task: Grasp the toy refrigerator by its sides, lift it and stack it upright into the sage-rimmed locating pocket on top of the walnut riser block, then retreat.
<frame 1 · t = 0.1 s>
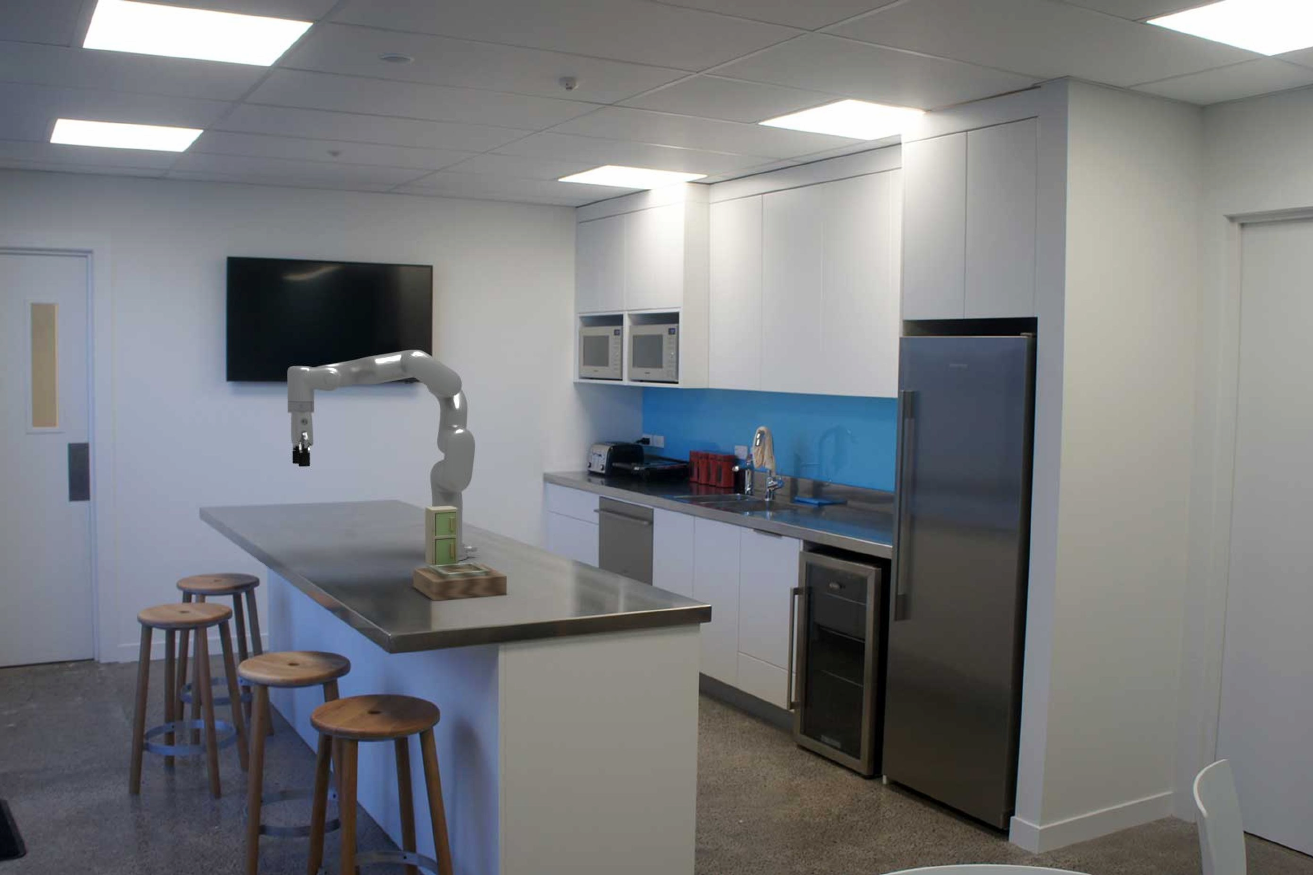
hand: (301, 465, 333), 31 cm above the countertop, fingers open, 9 cm apart
walnut riser: (459, 590, 306), on the countertop
toy refrigerator: (442, 581, 320), on the countertop
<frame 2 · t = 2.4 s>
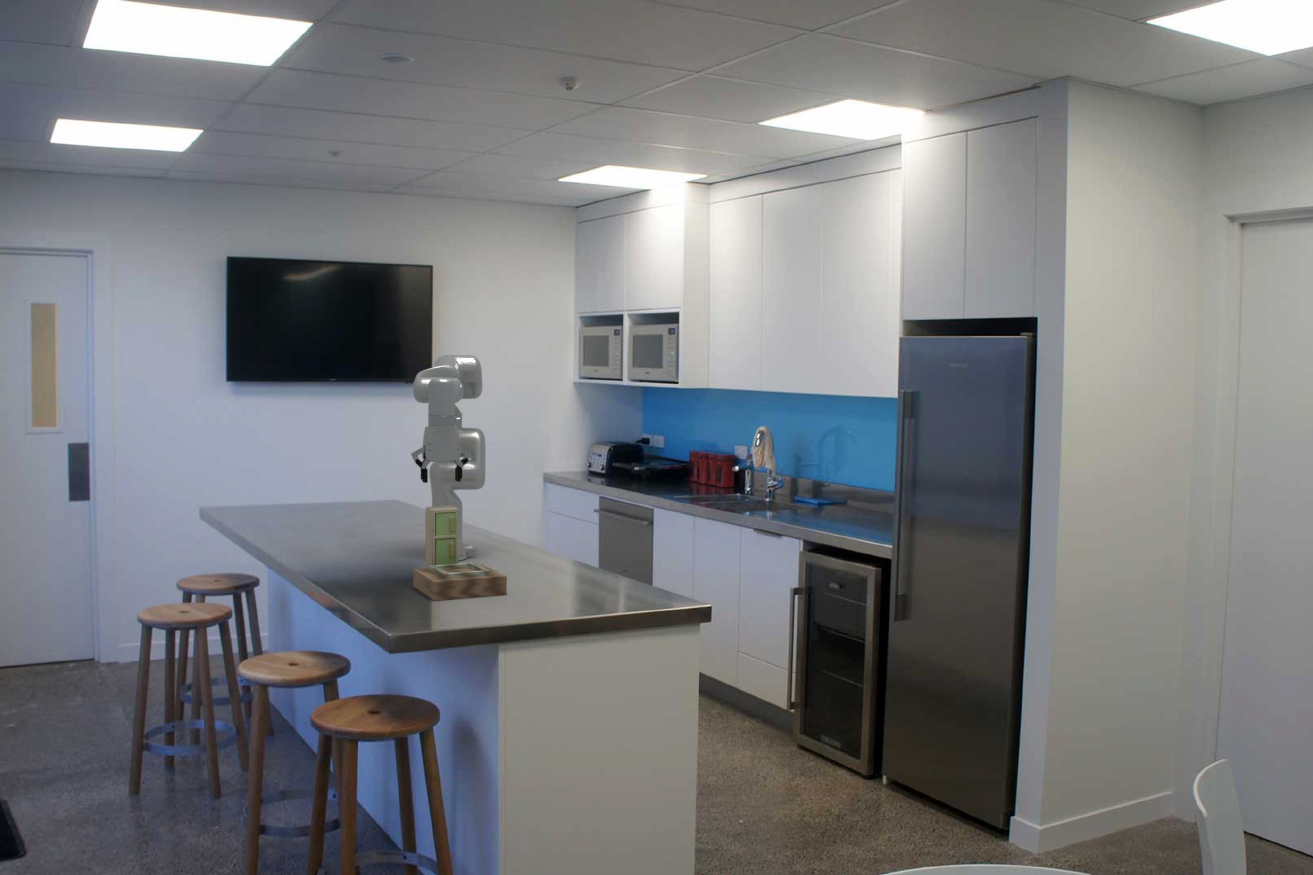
hand: (441, 481, 319), 28 cm above the countertop, fingers open, 9 cm apart
nothing on the countertop moved.
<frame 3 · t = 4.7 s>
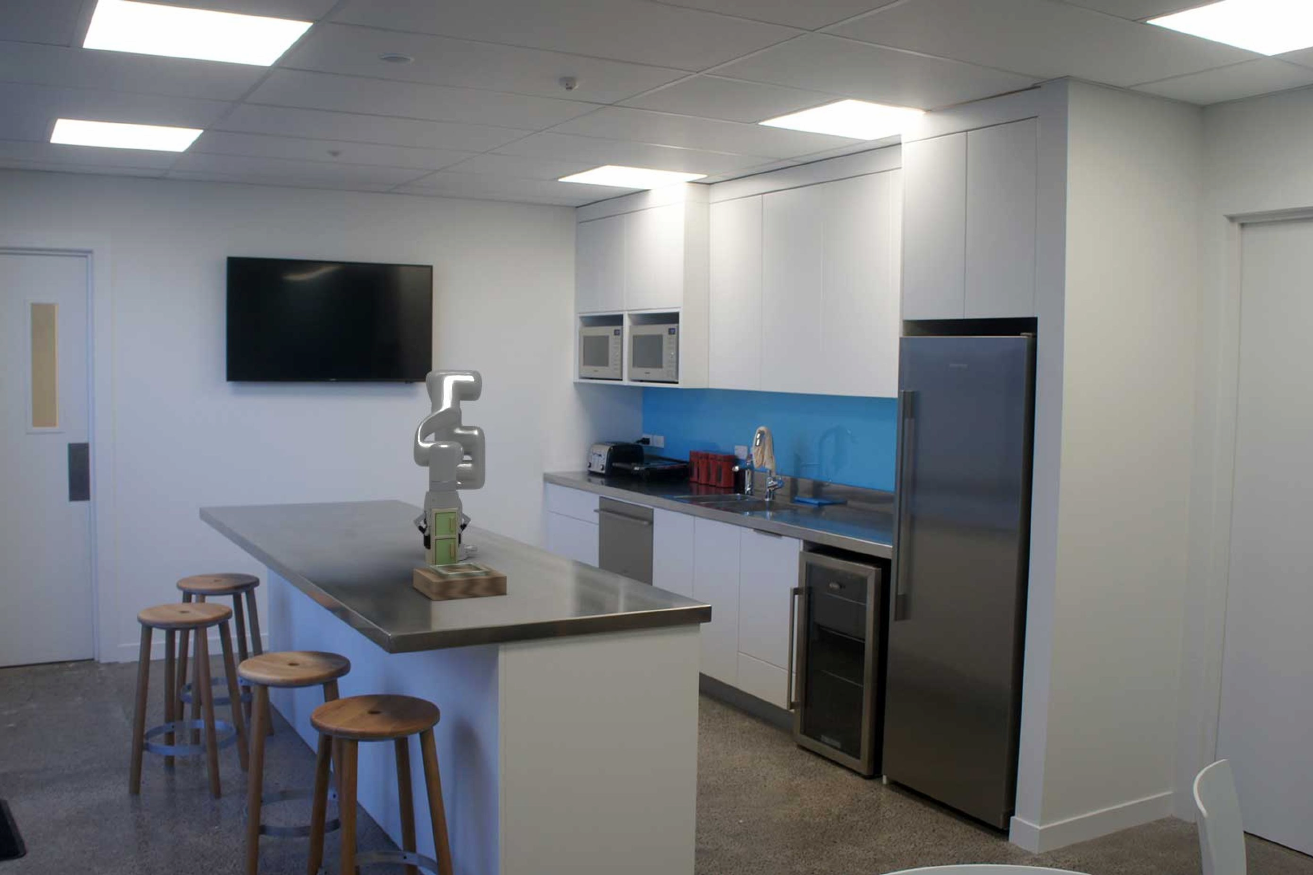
hand: (442, 547, 320), 10 cm above the countertop, fingers closed on toy refrigerator, 7 cm apart
toy refrigerator: (442, 580, 320), on the countertop, touching gripper
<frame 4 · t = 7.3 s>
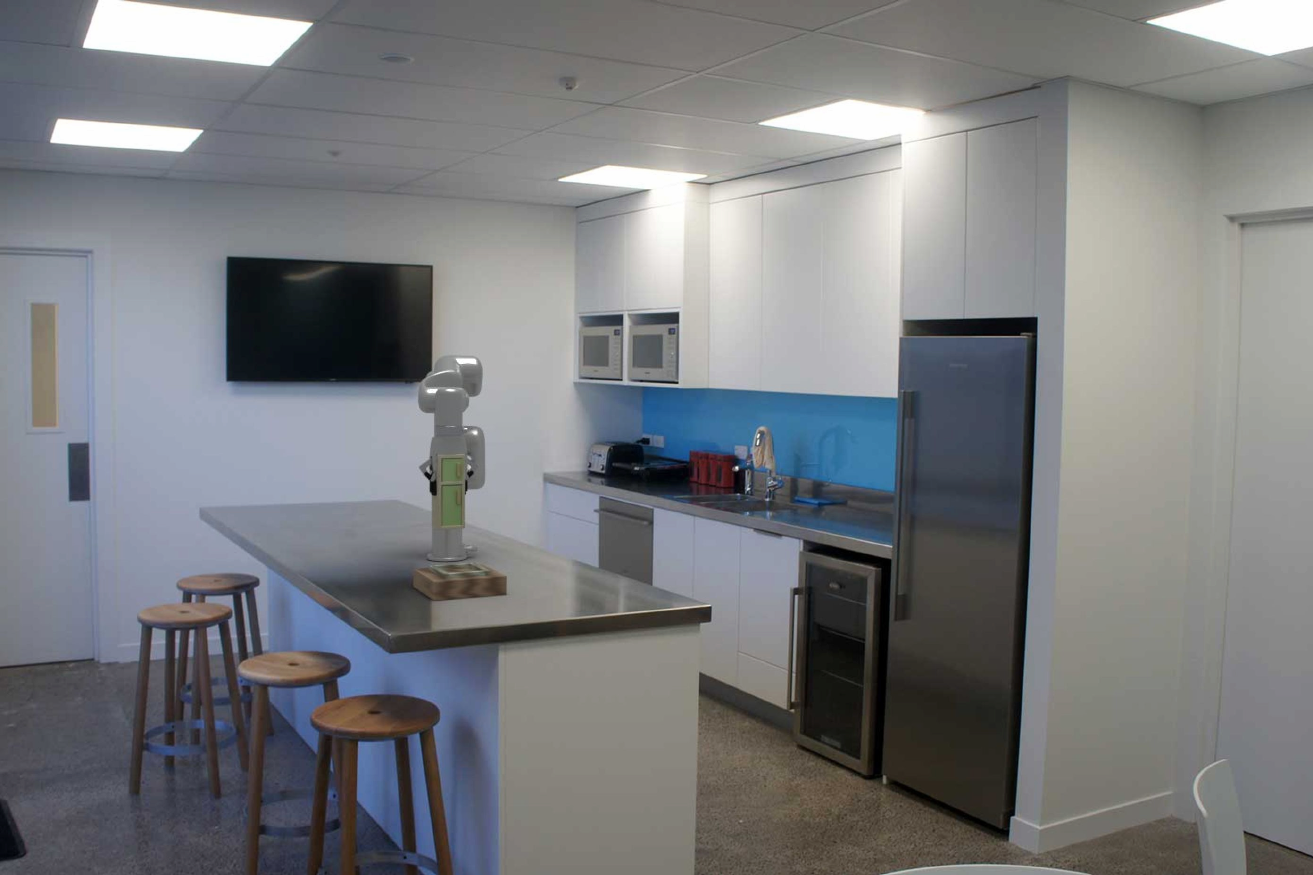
hand: (448, 494, 313), 25 cm above the countertop, fingers closed on toy refrigerator, 7 cm apart
toy refrigerator: (448, 528, 314), point 16 cm above the countertop, touching gripper
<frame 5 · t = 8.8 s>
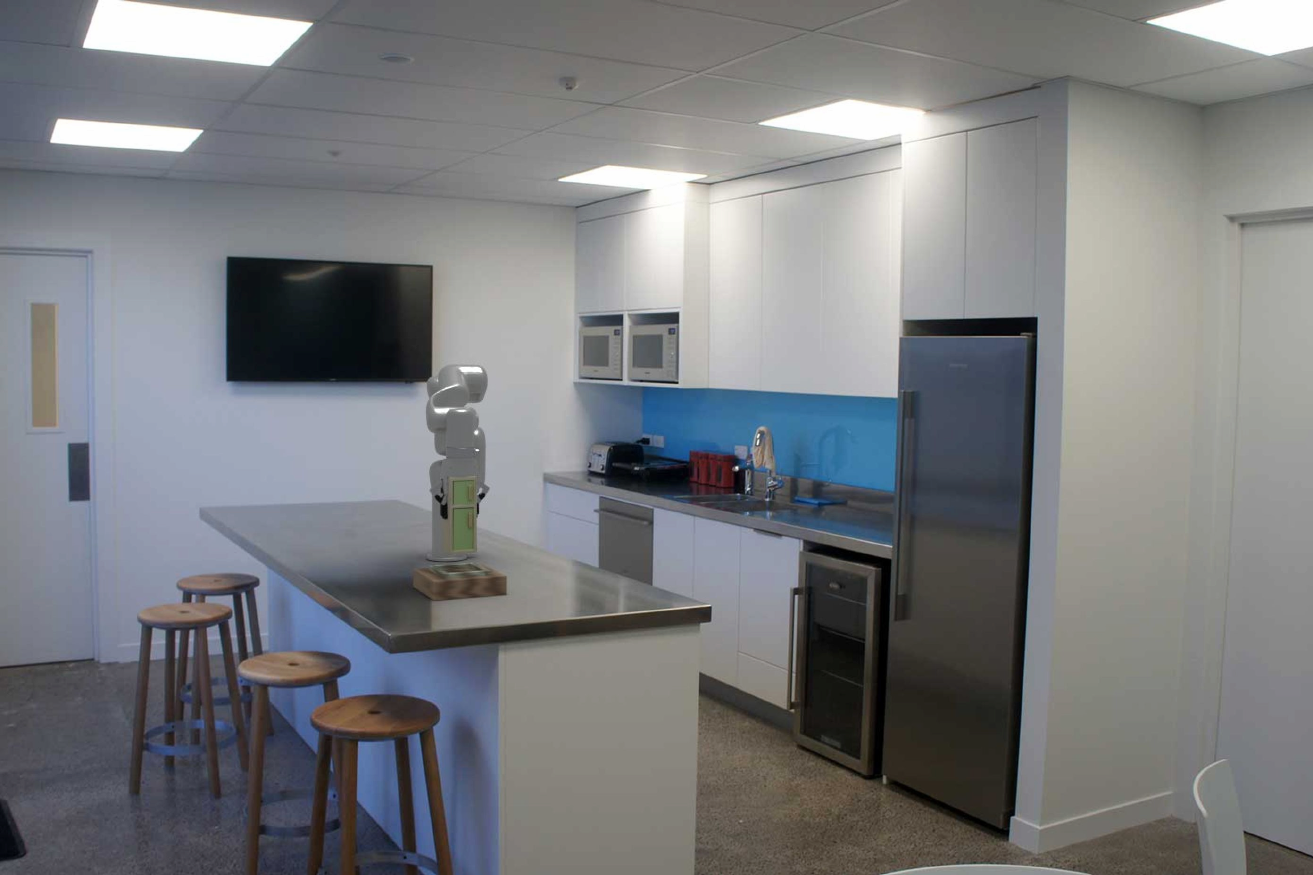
hand: (459, 517, 305), 20 cm above the countertop, fingers closed on toy refrigerator, 7 cm apart
toy refrigerator: (459, 552, 306), point 10 cm above the countertop, touching gripper
when the fingers open (17 cm above the countertop, at t = 10.0 s): toy refrigerator drops 2 cm, resting on walnut riser.
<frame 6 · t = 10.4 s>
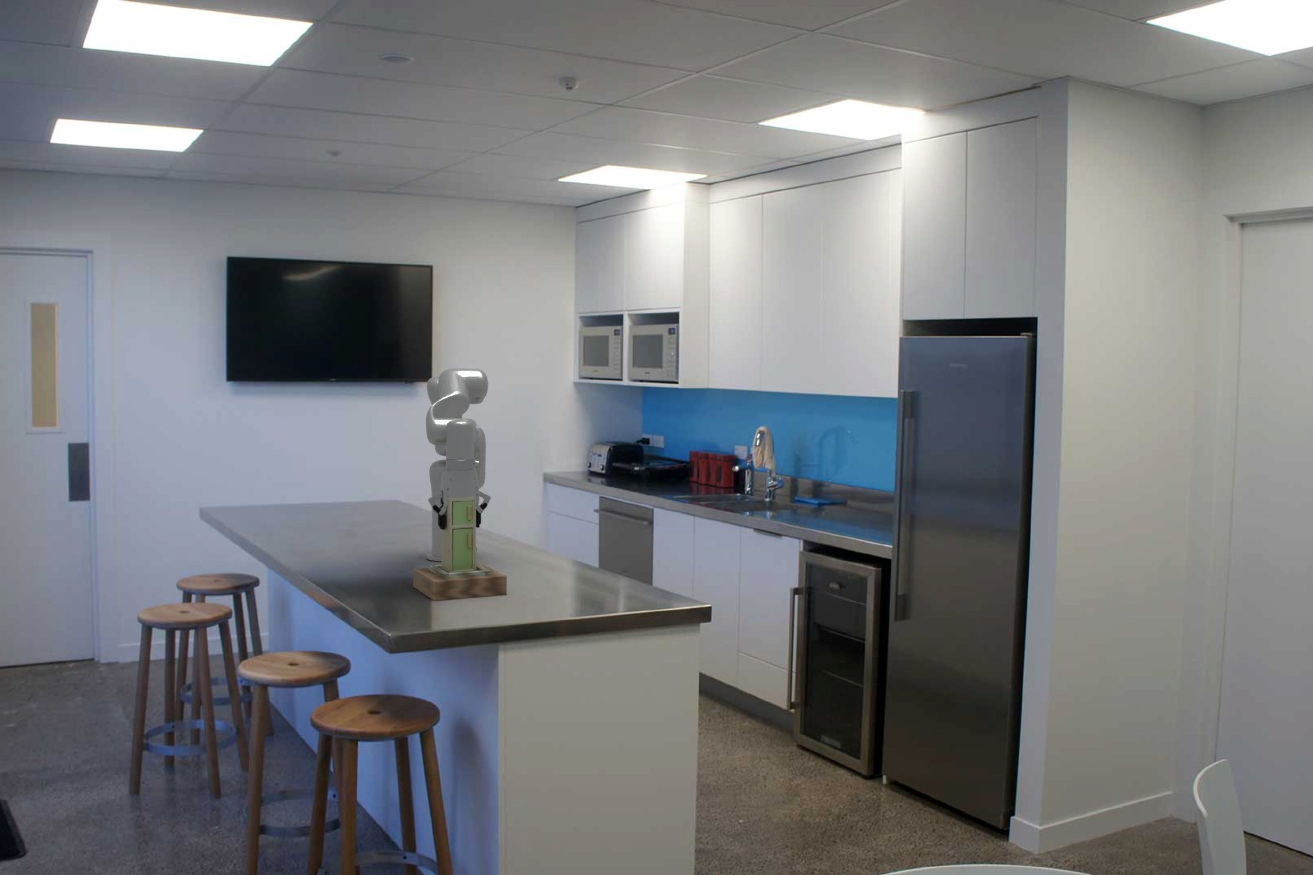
hand: (459, 528, 305), 17 cm above the countertop, fingers open, 9 cm apart
toy refrigerator: (458, 572, 306), point 5 cm above the countertop, touching walnut riser
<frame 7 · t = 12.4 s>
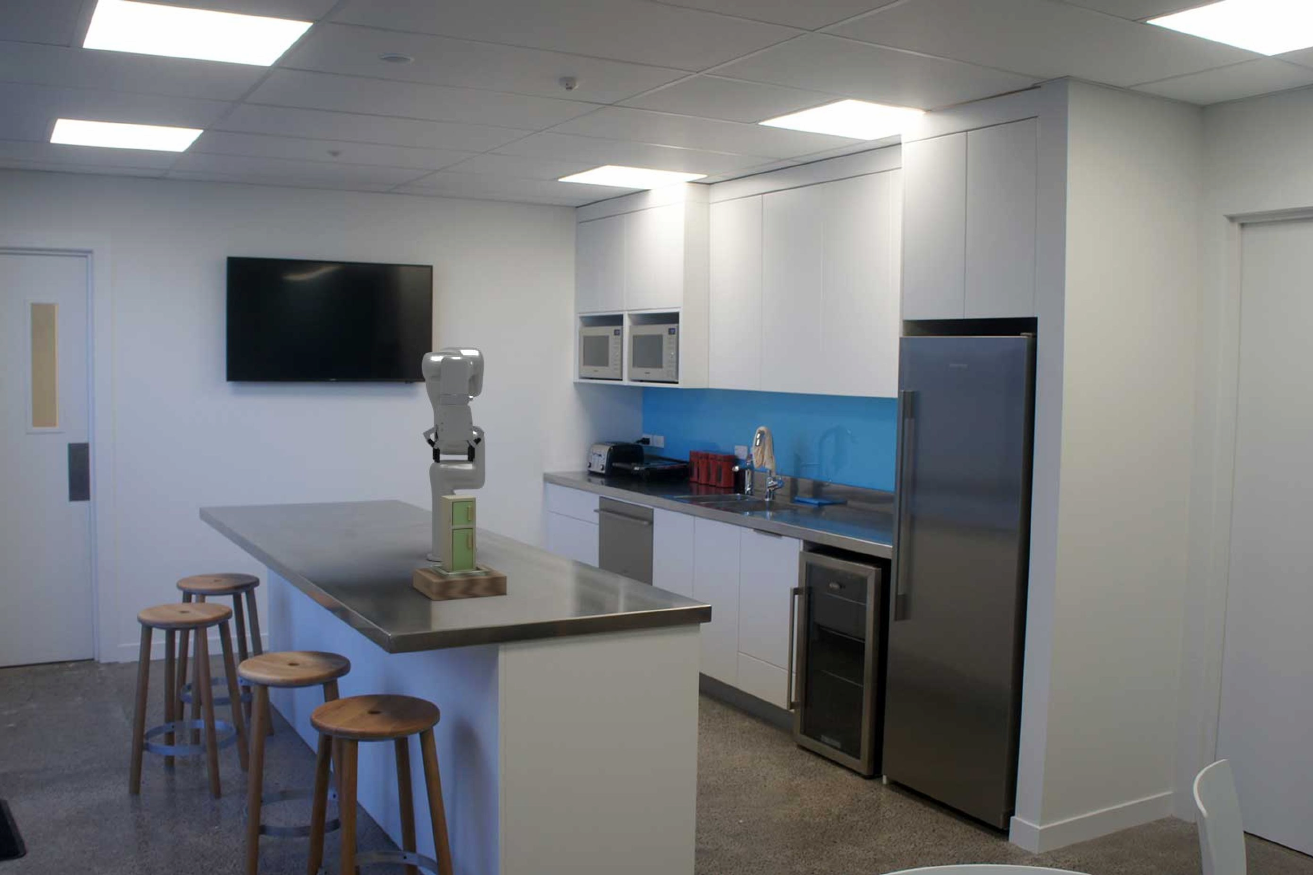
hand: (453, 461, 311), 35 cm above the countertop, fingers open, 9 cm apart
nothing on the countertop moved.
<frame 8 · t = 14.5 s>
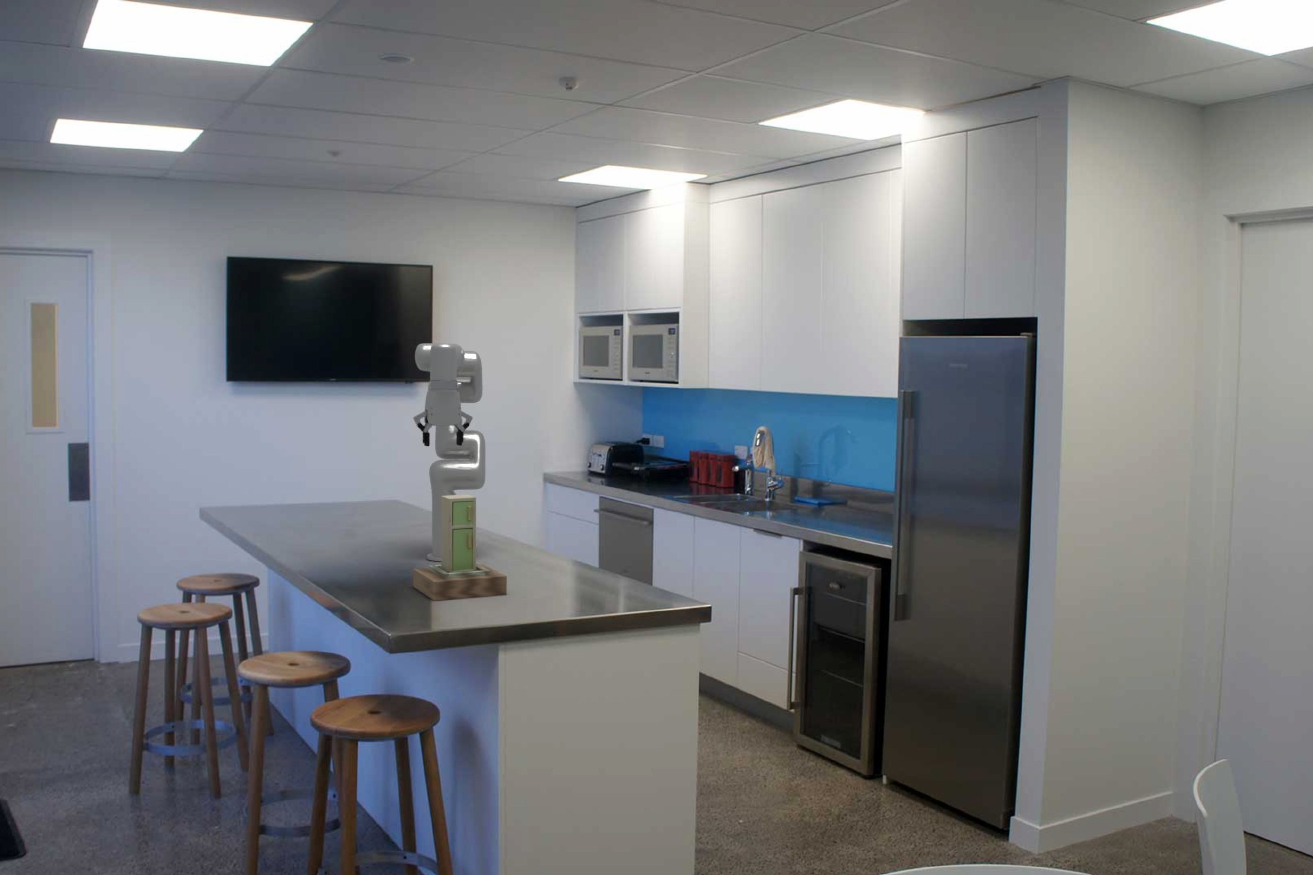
hand: (443, 445, 324), 38 cm above the countertop, fingers open, 9 cm apart
nothing on the countertop moved.
at the end: toy refrigerator 0.3 cm off-centre on the walnut riser, point 4.8 cm above the walnut riser's base; toy refrigerator tilted 0°; the gripper is holding nothing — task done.
